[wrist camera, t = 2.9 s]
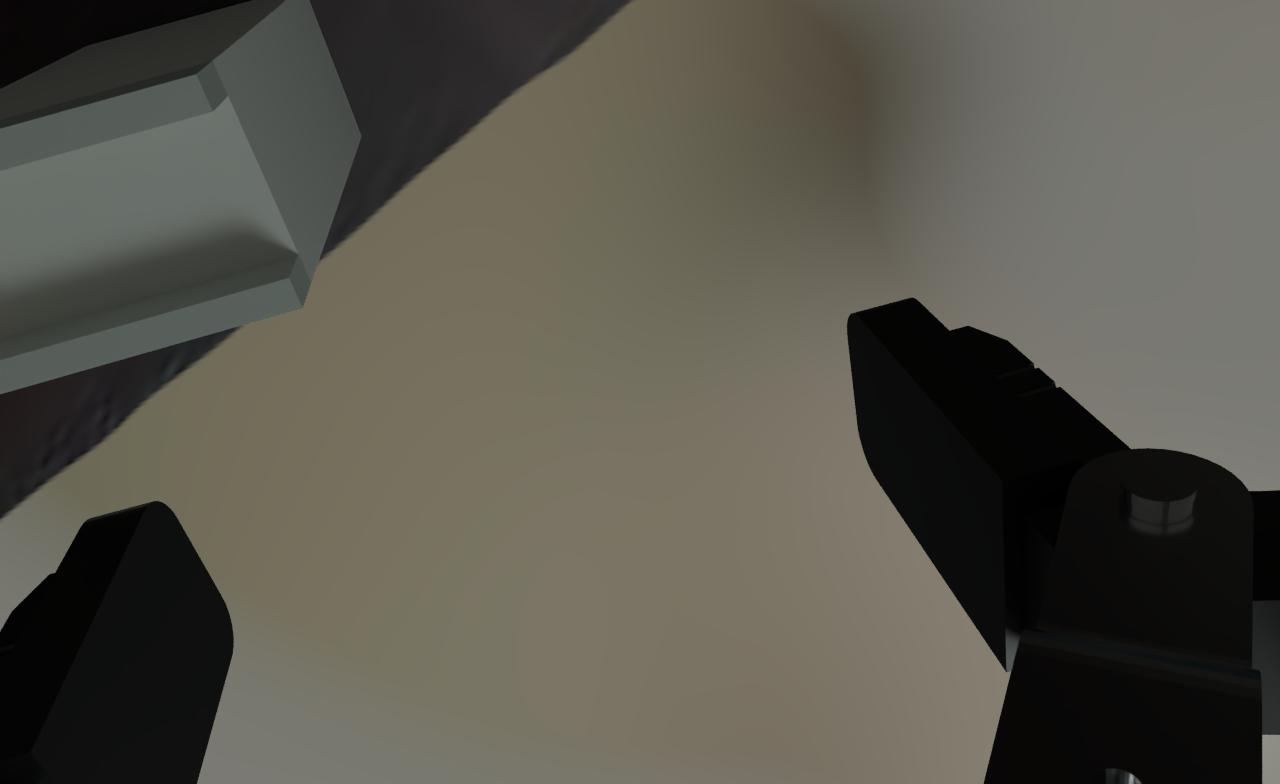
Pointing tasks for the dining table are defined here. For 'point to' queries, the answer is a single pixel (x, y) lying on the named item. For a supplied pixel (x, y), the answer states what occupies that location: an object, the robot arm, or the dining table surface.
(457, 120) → the dining table surface
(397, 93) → the dining table surface
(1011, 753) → the robot arm
